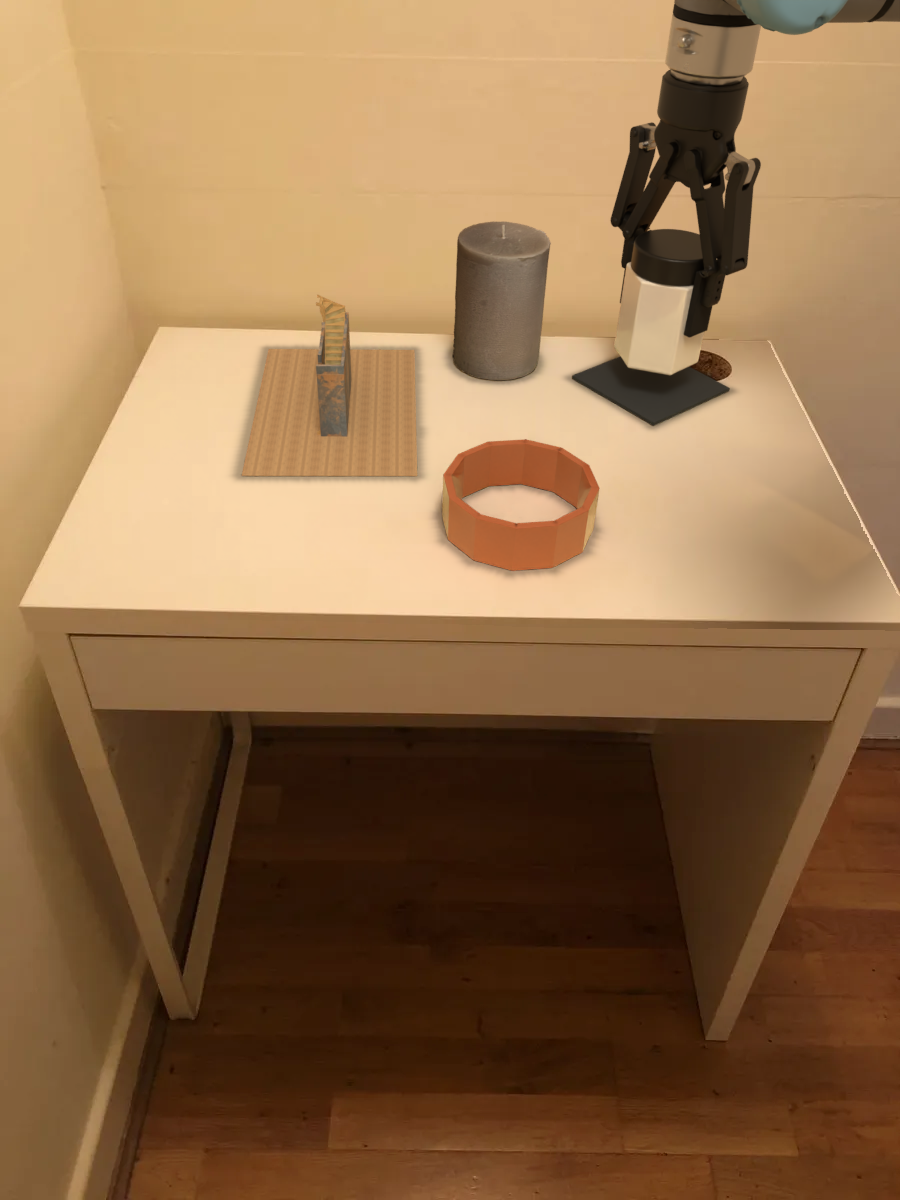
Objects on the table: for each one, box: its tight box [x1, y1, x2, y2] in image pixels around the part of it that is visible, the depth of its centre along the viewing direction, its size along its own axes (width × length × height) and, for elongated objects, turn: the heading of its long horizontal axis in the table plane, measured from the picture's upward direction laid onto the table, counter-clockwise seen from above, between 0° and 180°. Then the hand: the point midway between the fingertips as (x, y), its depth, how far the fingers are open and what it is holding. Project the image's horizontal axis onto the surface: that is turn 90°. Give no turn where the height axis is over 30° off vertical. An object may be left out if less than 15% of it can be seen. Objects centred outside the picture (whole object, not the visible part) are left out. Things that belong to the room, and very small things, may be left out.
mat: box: [571, 355, 731, 426], centre depth 106 cm, size 12×12×1 cm
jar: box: [613, 228, 705, 375], centre depth 100 cm, size 9×8×12 cm
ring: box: [441, 438, 601, 572], centre depth 86 cm, size 13×13×4 cm
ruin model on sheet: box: [241, 294, 418, 477], centre depth 98 cm, size 25×16×10 cm, turn 2°
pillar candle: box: [451, 221, 552, 381], centre depth 104 cm, size 10×10×15 cm
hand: (662, 316), depth 101 cm, fingers closed on jar, 8 cm apart
